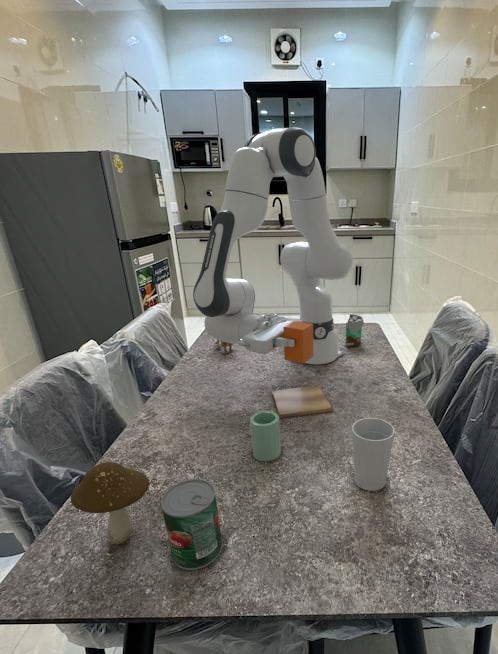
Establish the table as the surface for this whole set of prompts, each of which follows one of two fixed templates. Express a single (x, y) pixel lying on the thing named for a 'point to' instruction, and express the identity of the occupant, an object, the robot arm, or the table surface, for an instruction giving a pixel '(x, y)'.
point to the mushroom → (111, 496)
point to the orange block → (299, 341)
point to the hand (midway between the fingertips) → (301, 338)
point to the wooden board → (301, 401)
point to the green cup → (265, 435)
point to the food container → (354, 330)
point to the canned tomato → (192, 523)
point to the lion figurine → (224, 346)
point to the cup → (371, 452)
